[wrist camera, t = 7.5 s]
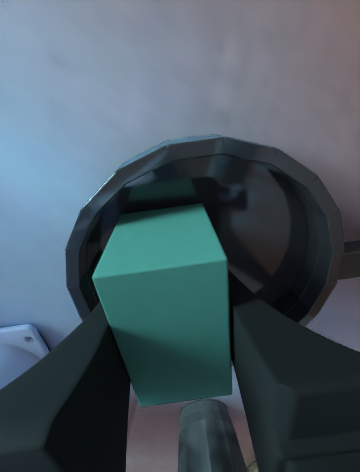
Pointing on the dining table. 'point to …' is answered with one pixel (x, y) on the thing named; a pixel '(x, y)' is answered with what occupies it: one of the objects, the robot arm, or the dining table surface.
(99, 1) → the dining table surface
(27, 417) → the robot arm
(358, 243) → the pan handle
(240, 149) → the pan
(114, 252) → the teal rectangular block
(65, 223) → the dining table surface
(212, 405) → the beverage cup
